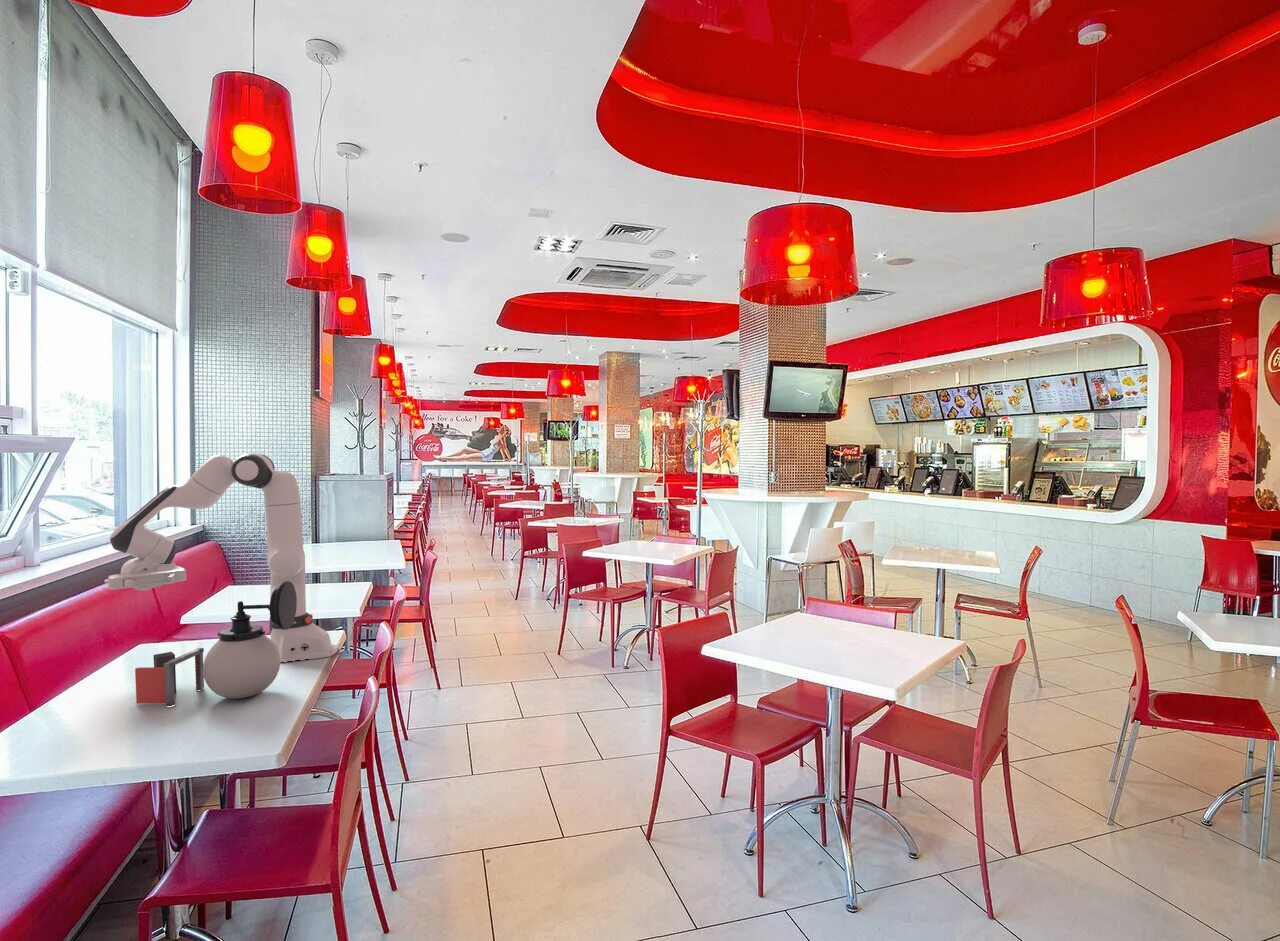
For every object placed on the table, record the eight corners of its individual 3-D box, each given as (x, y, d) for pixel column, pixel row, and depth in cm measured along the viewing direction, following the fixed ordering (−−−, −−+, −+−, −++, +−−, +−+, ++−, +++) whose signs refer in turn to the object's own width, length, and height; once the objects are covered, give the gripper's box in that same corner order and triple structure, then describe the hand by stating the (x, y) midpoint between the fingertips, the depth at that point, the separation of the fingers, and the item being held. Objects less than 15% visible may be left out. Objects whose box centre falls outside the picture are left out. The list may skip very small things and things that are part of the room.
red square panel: (173, 702, 205) (172, 667, 205) (171, 703, 204) (170, 668, 204) (138, 702, 205) (137, 667, 205) (136, 703, 204) (135, 668, 204)
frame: (170, 707, 202) (168, 663, 201) (165, 707, 202) (163, 663, 201) (205, 689, 217) (203, 647, 217) (200, 689, 217) (198, 647, 217)
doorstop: (172, 691, 216) (171, 651, 215) (176, 695, 212) (174, 654, 212) (155, 695, 213) (153, 654, 212) (158, 699, 209) (156, 657, 209)
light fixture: (223, 686, 219) (220, 577, 218) (303, 683, 221) (299, 575, 220) (190, 710, 200) (185, 591, 198) (277, 706, 202) (273, 588, 201)
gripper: (102, 570, 223) (110, 575, 213) (179, 562, 237) (190, 567, 227) (103, 590, 223) (111, 597, 213) (180, 581, 237) (191, 587, 227)
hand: (152, 581), depth 220 cm, fingers open, 8 cm apart
